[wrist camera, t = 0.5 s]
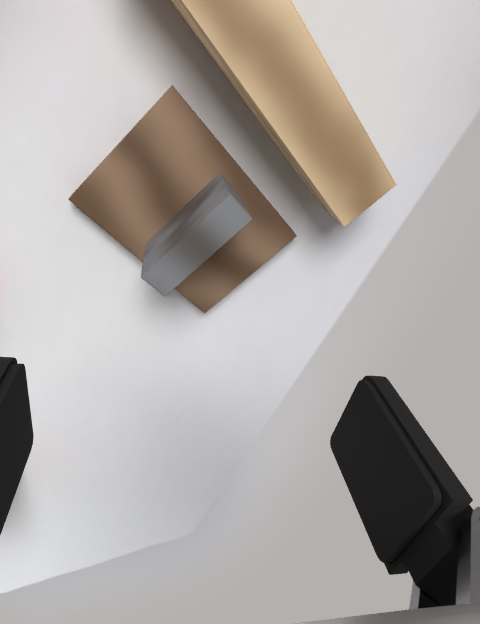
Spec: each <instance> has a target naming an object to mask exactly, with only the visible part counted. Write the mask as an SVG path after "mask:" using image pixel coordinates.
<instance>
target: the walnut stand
mask: <svg viewBox="0 0 480 624" xmlns="http://www.w3.org/2000/svg"><path fill="white" fill-rule="evenodd" d="M68 200H70V201H71V202H72V203H73V204H74V205H76V206H77V207H78V208H79V209H80V210H82V211H83V212H84V213H85V214H86V215H88V216H89V217H90V218H91V219H92V220H94V221H95V222H96V223H97V224H98V225H100V226H101V227H102V228H103V229H104V230H106V231H107V232H108V233H109V234H110V235H112V236H113V237H114V238H115V239H116V240H118V241H119V242H120V243H121V244H122V245H124V246H125V247H126V248H127V249H128V250H130V251H131V252H132V253H133V254H134V255H136V256H137V257H138V258H139V259H140V260H142V261H143V267H142V274H141V278H142V279H144V280H145V281H146V282H147V283H148V284H150V285H151V286H152V287H153V288H155V289H156V290H157V291H158V292H160V293H161V294H162V295H163V296H166V295H167V294H168V293H170V292H171V291H172V290H173V289H174V288H175V289H176V290H177V291H179V292H180V293H181V294H182V295H183V296H185V297H186V298H187V299H188V300H189V301H191V302H192V303H193V304H194V305H195V306H197V307H198V308H199V309H200V310H201V311H203V312H204V313H205V312H207V311H208V310H209V309H210V308H211V307H213V306H214V305H215V304H216V303H217V302H219V301H220V300H221V299H222V298H223V297H224V296H226V295H227V294H228V293H229V292H230V291H232V290H233V289H234V288H235V287H236V286H238V285H239V284H240V283H241V282H242V281H244V280H245V279H246V278H247V277H248V276H250V275H251V274H252V273H253V272H254V271H255V270H257V269H258V268H259V267H260V266H261V265H263V264H264V263H265V262H266V261H267V260H269V259H270V258H271V257H272V256H273V255H275V254H276V253H277V252H278V251H279V250H281V249H282V248H283V247H284V246H285V245H286V244H288V243H289V242H290V241H291V240H292V239H294V238H295V237H296V234H295V233H294V232H293V230H292V229H291V228H290V227H289V226H288V224H287V223H286V222H285V221H284V219H283V218H282V217H281V216H280V215H279V213H278V212H277V211H276V210H275V209H274V207H273V206H272V205H271V204H270V203H269V201H268V200H267V199H266V198H265V197H264V195H263V194H262V193H261V192H260V191H259V189H258V188H257V187H256V186H255V185H254V183H253V182H252V181H251V180H250V178H249V177H248V176H247V175H246V174H245V172H244V171H243V170H242V169H241V168H240V166H239V165H238V164H237V163H236V162H235V160H234V159H233V158H232V157H231V156H230V154H229V153H228V152H227V151H226V150H225V148H224V147H223V146H222V145H221V144H220V142H219V141H218V140H217V139H216V137H215V136H214V135H213V134H212V133H211V131H210V130H209V129H208V128H207V127H206V125H205V124H204V123H203V122H202V121H201V119H200V118H199V117H198V116H197V115H196V113H195V112H194V111H193V110H192V109H191V107H190V106H189V105H188V104H187V103H186V101H185V100H184V99H183V98H182V96H181V95H180V94H179V93H178V92H177V90H176V89H175V88H174V87H173V86H171V87H170V88H169V89H168V90H167V92H166V93H165V94H164V95H163V96H162V97H161V98H160V99H159V100H158V101H157V102H156V104H155V105H154V106H153V107H152V108H151V109H150V110H149V111H148V112H147V113H146V114H145V116H144V117H143V118H142V119H141V120H140V121H139V122H138V123H137V124H136V125H135V126H134V128H133V129H132V130H131V131H130V132H129V133H128V134H127V135H126V136H125V137H124V138H123V140H122V141H121V142H120V143H119V144H118V145H117V146H116V147H115V148H114V149H113V150H112V152H111V153H110V154H109V155H108V156H107V157H106V158H105V159H104V160H103V161H102V162H101V164H100V165H99V166H98V167H97V168H96V169H95V170H94V171H93V172H92V173H91V174H90V176H89V177H88V178H87V179H86V180H85V181H84V182H83V183H82V184H81V185H80V186H79V188H78V189H77V190H76V191H75V192H74V193H73V194H72V195H71V197H70V198H69V199H68Z"/></svg>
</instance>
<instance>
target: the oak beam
mask: <svg viewBox="0 0 480 624" xmlns="http://www.w3.org/2000/svg"><path fill="white" fill-rule="evenodd" d="M170 1H171V2H172V4H173V5H174V6H175V8H176V9H177V10H178V12H179V13H180V15H181V16H182V17H183V19H184V20H185V21H186V23H187V24H188V25H189V27H190V28H191V29H192V31H193V32H194V34H195V35H196V36H197V38H198V39H199V40H200V42H201V43H202V44H203V46H204V47H205V49H206V50H207V51H208V53H209V54H210V55H211V57H212V58H213V59H214V61H215V62H216V64H217V65H218V66H219V68H220V69H221V70H222V72H223V73H224V74H225V76H226V77H227V79H228V80H229V81H230V83H231V84H232V85H233V87H234V88H235V89H236V91H237V92H238V94H239V95H240V96H241V98H242V99H243V100H244V102H245V103H246V104H247V106H248V107H249V108H250V110H251V111H252V113H253V114H254V115H255V117H256V118H257V119H258V121H259V122H260V123H261V125H262V126H263V128H264V129H265V130H266V132H267V133H268V134H269V136H270V137H271V138H272V140H273V141H274V143H275V144H276V145H277V147H278V148H279V149H280V151H281V152H282V153H283V155H284V156H285V158H286V159H287V160H288V162H289V163H290V164H291V166H292V167H293V168H294V170H295V171H296V173H297V174H298V175H299V177H300V178H301V179H302V181H303V182H304V183H305V185H306V186H307V188H308V189H309V190H310V192H311V193H312V194H313V196H314V197H315V198H316V200H317V201H318V202H319V204H320V205H321V206H322V207H323V208H324V209H325V210H326V211H327V212H328V213H329V214H331V215H332V216H333V217H334V218H335V219H336V220H337V221H338V222H339V223H341V224H342V225H343V226H344V227H345V226H346V225H347V224H349V223H350V222H351V221H352V220H354V219H355V218H356V217H357V216H359V215H360V214H361V213H362V212H363V211H365V210H366V209H367V208H368V207H370V206H371V205H372V204H373V203H375V202H376V201H377V200H378V199H379V198H381V197H382V196H383V195H384V194H386V193H387V192H388V191H389V190H391V189H392V188H393V187H394V186H396V183H395V182H394V180H393V178H392V176H391V175H390V173H389V171H388V169H387V168H386V166H385V164H384V162H383V161H382V159H381V157H380V155H379V154H378V152H377V150H376V148H375V147H374V145H373V143H372V141H371V140H370V138H369V136H368V134H367V132H366V131H365V129H364V127H363V125H362V124H361V122H360V120H359V118H358V117H357V115H356V113H355V111H354V110H353V108H352V106H351V104H350V103H349V101H348V99H347V97H346V96H345V94H344V92H343V90H342V89H341V87H340V85H339V83H338V82H337V80H336V78H335V76H334V75H333V73H332V71H331V69H330V68H329V66H328V64H327V62H326V61H325V59H324V57H323V55H322V54H321V52H320V50H319V48H318V47H317V45H316V43H315V41H314V40H313V38H312V36H311V34H310V33H309V31H308V29H307V27H306V26H305V24H304V22H303V20H302V19H301V17H300V15H299V13H298V12H297V10H296V8H295V6H294V4H293V3H292V1H291V0H170Z"/></svg>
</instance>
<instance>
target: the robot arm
mask: <svg viewBox="0 0 480 624" xmlns="http://www.w3.org/2000/svg"><path fill="white" fill-rule="evenodd" d="M32 444H33V428H32V420H31V412H30V404H29V396H28V387H27V379H26V371H25V366H24V364H17V360H16V358H12V357H0V534H1V532H2V529H3V526H4V523H5V521H6V518H7V515H8V512H9V510H10V507H11V504H12V501H13V499H14V496H15V493H16V490H17V487H18V485H19V482H20V479H21V476H22V474H23V471H24V468H25V465H26V463H27V460H28V457H29V454H30V452H31V448H32ZM330 445H331V449H332V451H333V454H334V456H335V459H336V461H337V463H338V466H339V468H340V470H341V473H342V475H343V477H344V480H345V482H346V484H347V487H348V489H349V491H350V493H351V496H352V498H353V501H354V503H355V505H356V508H357V510H358V512H359V515H360V517H361V519H362V522H363V524H364V526H365V529H366V531H367V533H368V536H369V538H370V541H371V543H372V545H373V547H374V550H375V552H376V555H377V556H378V558H379V559H380V561H382V562H383V563H385V566H386V568H387V570H388V573H389V574H390V575H392V574H402V573H407V572H408V571H409V572H410V574H411V576H412V578H413V586H412V593H411V600H410V607H409V610H403V611H394V612H387V613H378V614H369V615H361V616H352V617H344V618H336V619H328V620H320V621H311V622H304V623H296V624H480V507H477V508H476V509H474V510H473V509H472V508H471V506H470V505H469V504H470V503H471V502H472V500H473V499H472V498H471V497H470V495H469V494H468V492H467V491H466V489H465V488H464V487H463V485H462V484H461V482H460V481H459V480H458V478H457V477H456V475H455V474H454V472H453V471H452V470H451V468H450V467H449V466H448V464H447V462H446V461H445V460H444V458H443V457H442V455H441V454H440V453H439V451H438V450H437V448H436V447H435V446H434V444H433V443H432V441H431V440H430V438H429V437H428V435H427V434H426V433H425V431H424V430H423V428H422V427H421V426H420V424H419V423H418V421H417V420H416V419H415V417H414V416H413V414H412V413H411V411H410V410H409V409H408V407H407V406H406V404H405V403H404V401H403V400H402V399H401V397H400V396H399V395H398V393H397V392H396V390H395V389H394V387H393V386H392V384H391V383H390V382H389V380H388V379H387V378H386V377H381V376H365V377H364V378H363V379H362V380H361V381H359V382H358V384H357V386H356V388H355V390H354V392H353V394H352V396H351V398H350V400H349V402H348V404H347V406H346V408H345V410H344V412H343V414H342V416H341V418H340V420H339V422H338V424H337V426H336V428H335V430H334V432H333V434H332V436H331V440H330Z"/></svg>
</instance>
